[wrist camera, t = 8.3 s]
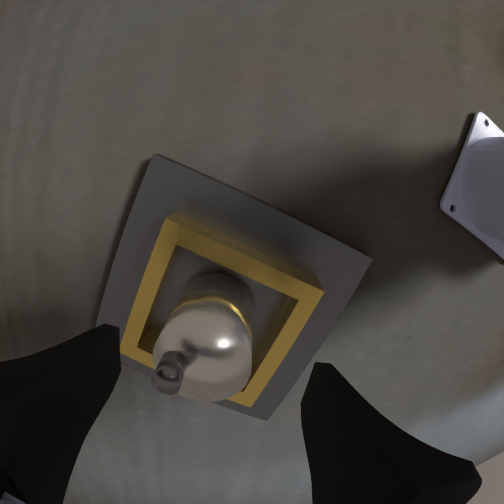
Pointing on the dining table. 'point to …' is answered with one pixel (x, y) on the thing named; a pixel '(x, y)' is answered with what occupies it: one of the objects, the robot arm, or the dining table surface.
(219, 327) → the spout can
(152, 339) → the fill port
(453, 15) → the dining table surface
